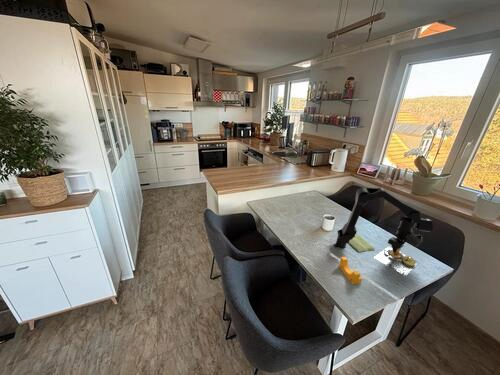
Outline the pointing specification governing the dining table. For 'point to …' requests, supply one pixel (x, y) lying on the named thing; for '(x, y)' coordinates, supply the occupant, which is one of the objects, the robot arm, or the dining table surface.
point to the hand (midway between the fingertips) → (396, 250)
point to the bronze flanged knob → (395, 254)
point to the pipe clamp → (349, 272)
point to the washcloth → (360, 244)
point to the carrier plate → (397, 261)
